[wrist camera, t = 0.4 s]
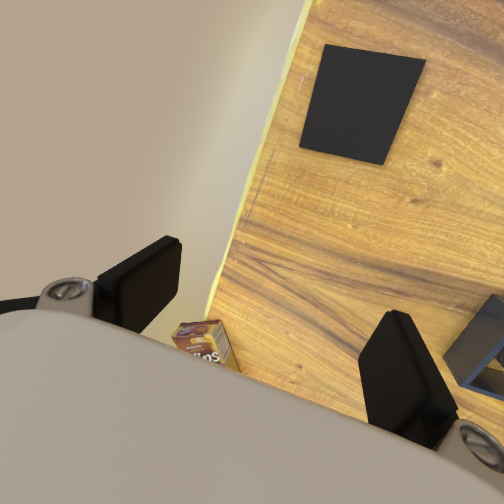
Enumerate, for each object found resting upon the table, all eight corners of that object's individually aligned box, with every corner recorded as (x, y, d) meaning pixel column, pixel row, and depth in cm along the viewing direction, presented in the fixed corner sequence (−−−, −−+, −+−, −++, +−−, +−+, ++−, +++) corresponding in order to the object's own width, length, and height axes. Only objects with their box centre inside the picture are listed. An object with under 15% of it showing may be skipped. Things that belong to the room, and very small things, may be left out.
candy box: (198, 396, 49) (169, 336, 44) (207, 378, 53) (181, 321, 48) (238, 399, 46) (211, 334, 41) (244, 379, 50) (221, 318, 45)
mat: (325, 45, 26) (325, 43, 25) (424, 61, 24) (426, 59, 24) (299, 146, 30) (298, 146, 30) (381, 164, 29) (382, 165, 28)
